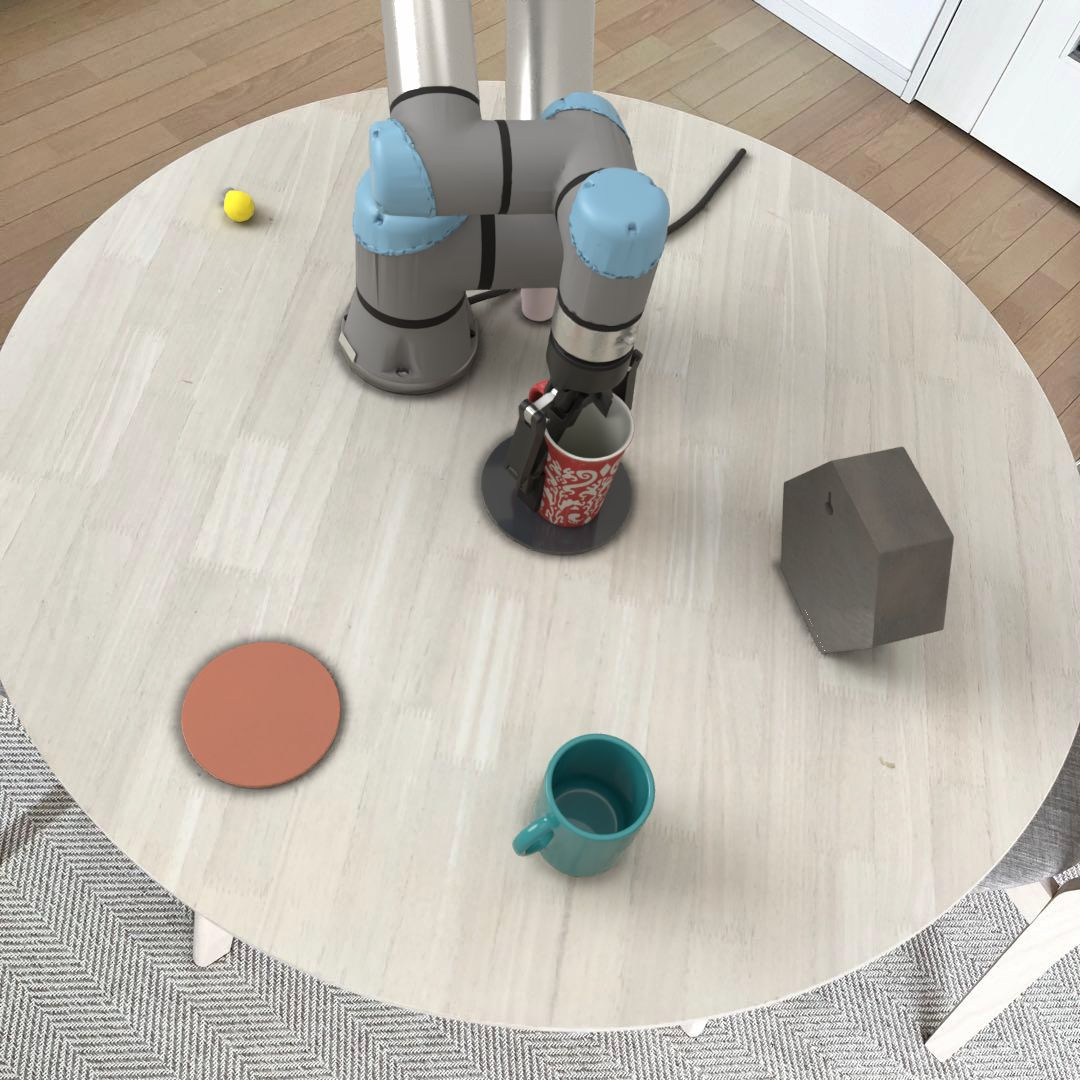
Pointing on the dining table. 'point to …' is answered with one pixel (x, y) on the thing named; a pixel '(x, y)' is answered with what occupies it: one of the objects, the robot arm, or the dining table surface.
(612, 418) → the mug
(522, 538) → the coaster slate
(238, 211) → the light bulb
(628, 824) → the cup
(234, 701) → the coaster terracotta
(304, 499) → the dining table surface
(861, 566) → the dark grey boxy piece
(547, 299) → the smoothie
